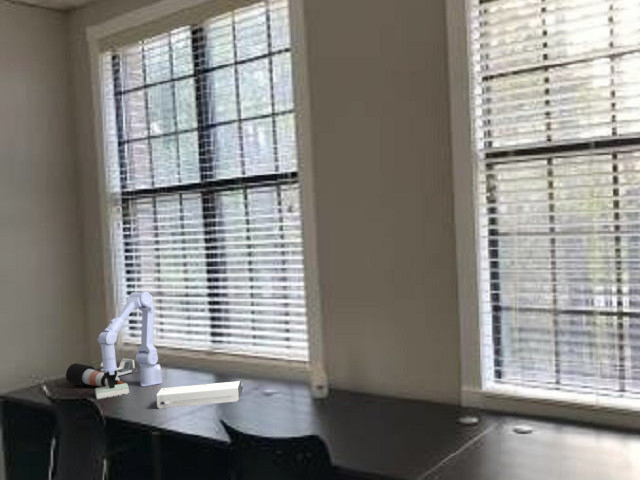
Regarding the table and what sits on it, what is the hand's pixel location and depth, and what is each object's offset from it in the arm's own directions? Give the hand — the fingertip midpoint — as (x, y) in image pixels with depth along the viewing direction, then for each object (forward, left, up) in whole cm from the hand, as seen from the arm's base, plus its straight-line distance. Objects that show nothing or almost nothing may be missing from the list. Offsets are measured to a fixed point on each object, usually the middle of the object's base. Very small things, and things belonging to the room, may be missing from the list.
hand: (112, 387), depth 317 cm
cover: (0, -1, -1) cm, 1 cm away
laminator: (-31, +39, -4) cm, 50 cm away
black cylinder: (+4, -23, -4) cm, 24 cm away
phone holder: (-6, -44, -4) cm, 45 cm away
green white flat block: (0, -1, -3) cm, 4 cm away
